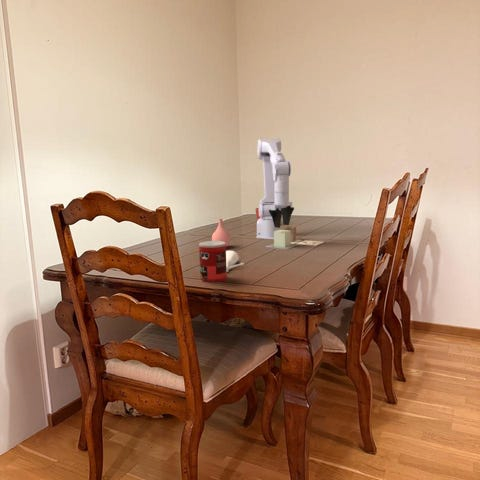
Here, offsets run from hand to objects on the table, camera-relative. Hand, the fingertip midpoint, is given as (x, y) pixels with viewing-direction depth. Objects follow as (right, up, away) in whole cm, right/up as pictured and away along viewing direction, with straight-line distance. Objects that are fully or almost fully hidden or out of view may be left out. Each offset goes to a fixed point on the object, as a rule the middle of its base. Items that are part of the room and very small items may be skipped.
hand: (281, 226), depth 176 cm
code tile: (+13, -7, +7) cm, 16 cm away
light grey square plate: (0, -8, +1) cm, 9 cm away
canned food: (-25, -18, -45) cm, 54 cm away
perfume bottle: (-24, -9, +2) cm, 26 cm away
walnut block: (+4, -6, +13) cm, 15 cm away
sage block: (0, -8, +1) cm, 8 cm away
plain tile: (+4, -6, +13) cm, 15 cm away
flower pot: (-3, +2, +59) cm, 59 cm away
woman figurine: (-21, -15, -29) cm, 39 cm away
